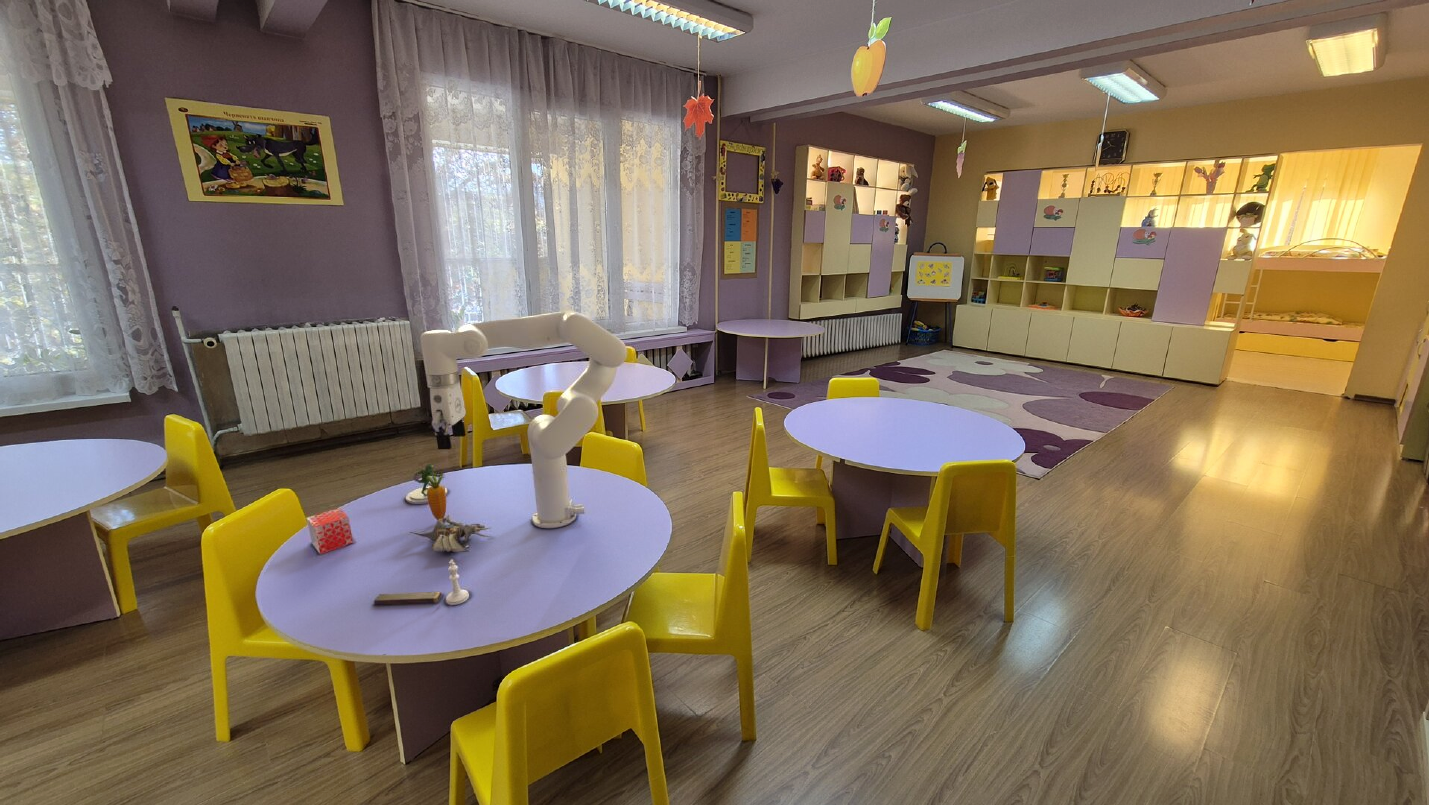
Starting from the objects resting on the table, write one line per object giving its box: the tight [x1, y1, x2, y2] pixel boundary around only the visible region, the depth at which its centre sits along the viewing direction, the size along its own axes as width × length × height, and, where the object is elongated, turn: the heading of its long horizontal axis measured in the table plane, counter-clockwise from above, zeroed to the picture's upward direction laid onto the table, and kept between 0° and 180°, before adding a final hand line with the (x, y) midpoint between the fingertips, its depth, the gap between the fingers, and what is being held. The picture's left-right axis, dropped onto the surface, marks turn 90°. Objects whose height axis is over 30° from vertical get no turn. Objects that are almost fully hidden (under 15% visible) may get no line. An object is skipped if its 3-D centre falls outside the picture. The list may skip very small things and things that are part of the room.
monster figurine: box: [405, 462, 448, 505], centre depth 183 cm, size 12×12×10 cm
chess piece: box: [445, 559, 470, 606], centre depth 130 cm, size 5×5×10 cm
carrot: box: [427, 475, 447, 522], centre depth 165 cm, size 5×5×15 cm
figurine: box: [409, 514, 492, 554], centre depth 153 cm, size 20×6×17 cm
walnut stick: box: [373, 590, 443, 606], centre depth 130 cm, size 14×3×1 cm, turn 93°
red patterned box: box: [306, 507, 355, 555], centre depth 155 cm, size 8×8×8 cm
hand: (452, 442), depth 150 cm, fingers open, 9 cm apart
